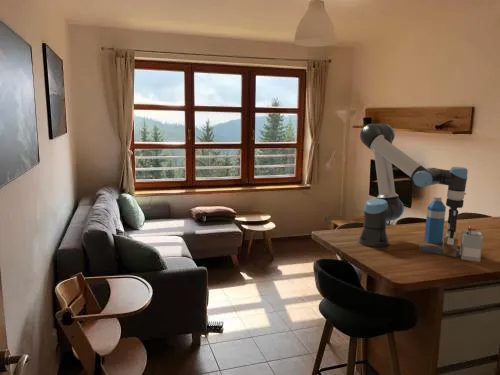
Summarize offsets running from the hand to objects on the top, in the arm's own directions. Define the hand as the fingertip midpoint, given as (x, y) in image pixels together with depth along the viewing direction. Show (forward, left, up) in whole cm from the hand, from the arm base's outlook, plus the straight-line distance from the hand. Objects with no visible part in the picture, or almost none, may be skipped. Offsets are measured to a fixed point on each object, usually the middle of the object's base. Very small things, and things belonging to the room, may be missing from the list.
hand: (449, 240), depth 200 cm
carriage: (0, 0, -7) cm, 7 cm away
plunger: (+10, 0, +2) cm, 10 cm away
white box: (+10, 0, -7) cm, 12 cm away
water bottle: (-6, +21, -8) cm, 23 cm away
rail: (-4, 0, -7) cm, 9 cm away
